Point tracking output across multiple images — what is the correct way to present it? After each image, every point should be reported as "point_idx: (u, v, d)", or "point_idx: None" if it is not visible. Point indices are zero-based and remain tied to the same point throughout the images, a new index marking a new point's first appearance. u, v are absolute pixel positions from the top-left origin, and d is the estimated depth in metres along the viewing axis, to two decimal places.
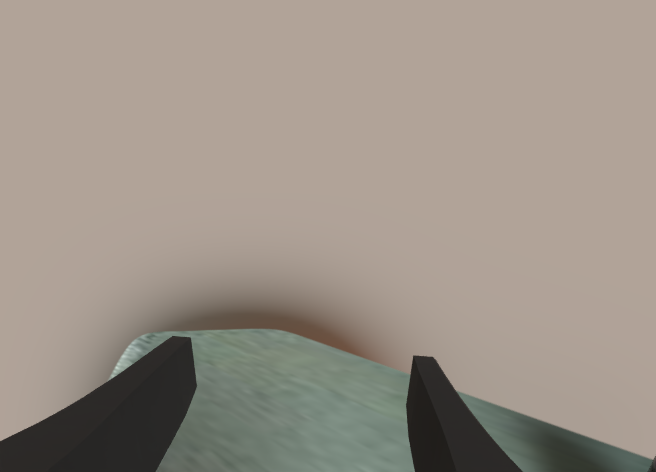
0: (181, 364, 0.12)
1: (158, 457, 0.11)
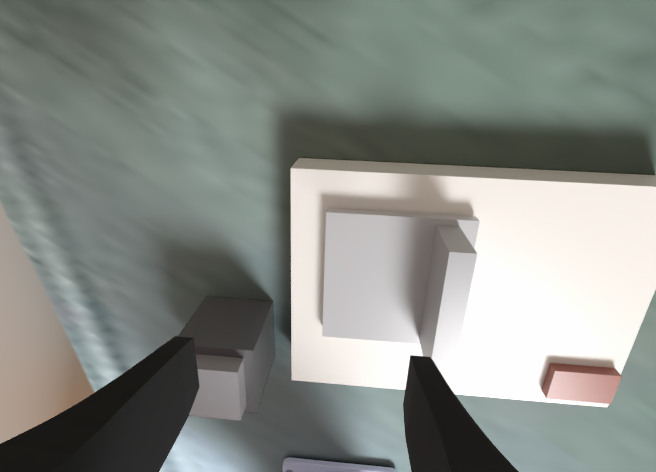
0: (184, 364, 0.12)
1: (161, 457, 0.11)
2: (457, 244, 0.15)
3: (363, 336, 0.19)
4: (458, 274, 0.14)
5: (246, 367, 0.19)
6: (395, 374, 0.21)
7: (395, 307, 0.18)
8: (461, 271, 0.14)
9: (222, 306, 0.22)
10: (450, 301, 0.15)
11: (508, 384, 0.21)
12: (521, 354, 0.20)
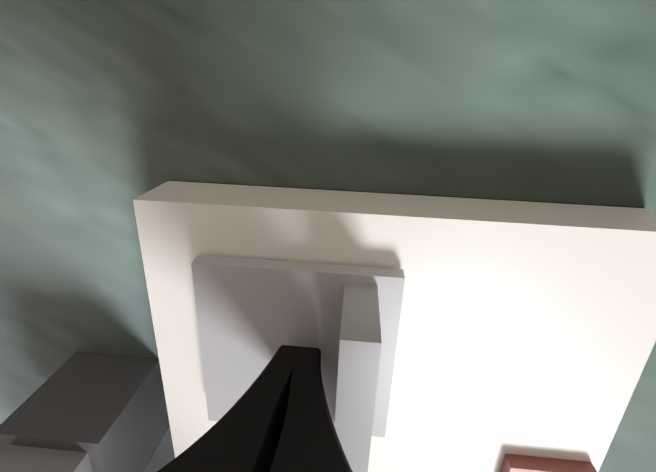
0: None
1: None
2: (358, 322, 0.10)
3: None
4: (356, 371, 0.10)
5: (94, 464, 0.14)
6: None
7: None
8: (360, 367, 0.10)
9: (89, 368, 0.17)
10: (349, 406, 0.10)
11: None
12: (466, 442, 0.15)
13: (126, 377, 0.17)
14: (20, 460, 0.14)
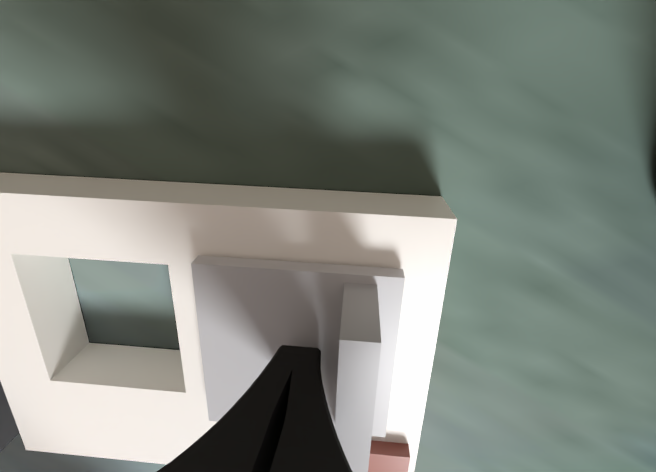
0: None
1: None
2: (358, 322, 0.10)
3: None
4: (356, 370, 0.10)
5: None
6: (145, 445, 0.16)
7: None
8: (360, 366, 0.10)
9: None
10: (349, 406, 0.10)
11: None
12: None
13: None
14: None
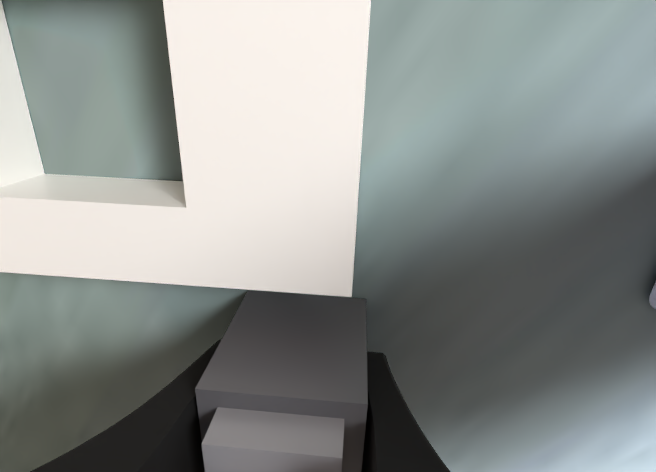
0: None
1: None
2: None
3: None
4: None
5: (241, 405, 0.09)
6: (317, 56, 0.08)
7: None
8: None
9: None
10: None
11: None
12: None
13: None
14: None
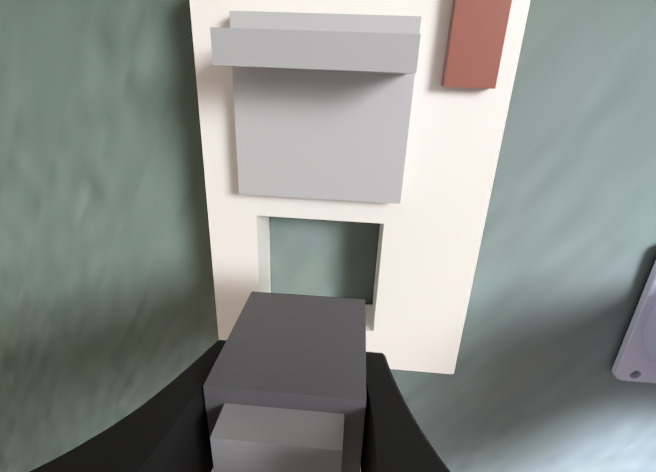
0: None
1: (211, 462, 0.11)
2: None
3: (401, 151, 0.15)
4: (241, 48, 0.11)
5: (247, 401, 0.10)
6: (450, 272, 0.17)
7: (355, 111, 0.14)
8: (236, 45, 0.11)
9: None
10: (281, 54, 0.11)
11: (476, 136, 0.15)
12: (424, 127, 0.15)
13: None
14: None
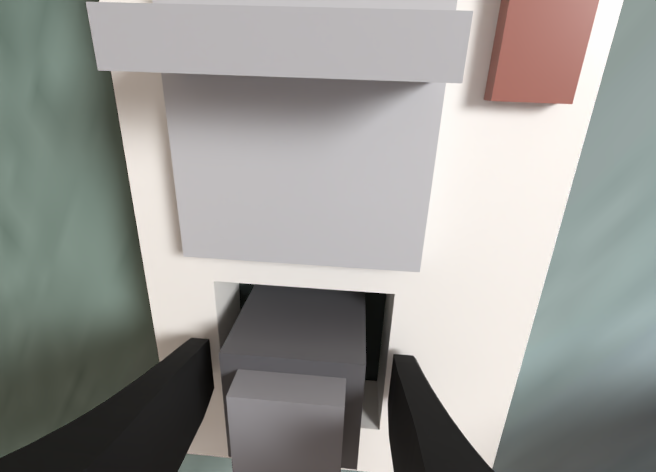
0: (200, 366, 0.12)
1: (179, 459, 0.11)
2: None
3: (422, 198, 0.10)
4: (145, 41, 0.06)
5: (258, 366, 0.11)
6: (488, 358, 0.12)
7: (352, 138, 0.09)
8: (136, 34, 0.06)
9: None
10: (218, 51, 0.06)
11: (534, 174, 0.10)
12: (457, 160, 0.10)
13: None
14: None
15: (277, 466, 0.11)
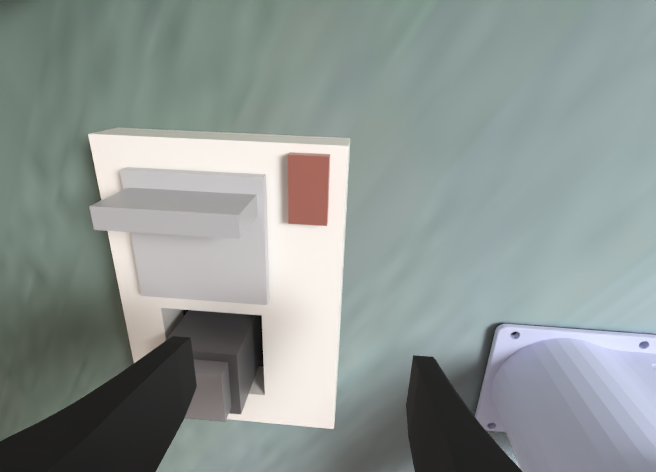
0: (181, 364, 0.12)
1: (158, 457, 0.11)
2: None
3: (262, 268, 0.19)
4: (113, 220, 0.15)
5: None
6: (319, 351, 0.21)
7: (223, 239, 0.18)
8: (109, 217, 0.15)
9: None
10: (142, 224, 0.15)
11: (323, 254, 0.19)
12: (283, 247, 0.19)
13: None
14: None
15: (191, 409, 0.20)
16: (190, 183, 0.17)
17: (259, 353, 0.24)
